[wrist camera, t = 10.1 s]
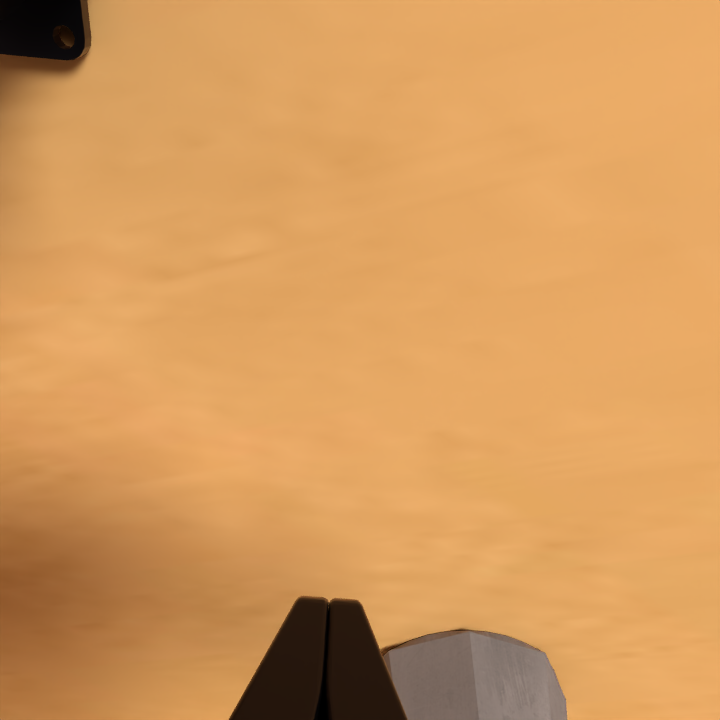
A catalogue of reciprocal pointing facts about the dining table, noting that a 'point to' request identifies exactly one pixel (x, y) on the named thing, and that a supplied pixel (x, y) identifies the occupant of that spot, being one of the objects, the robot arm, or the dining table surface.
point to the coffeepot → (474, 678)
